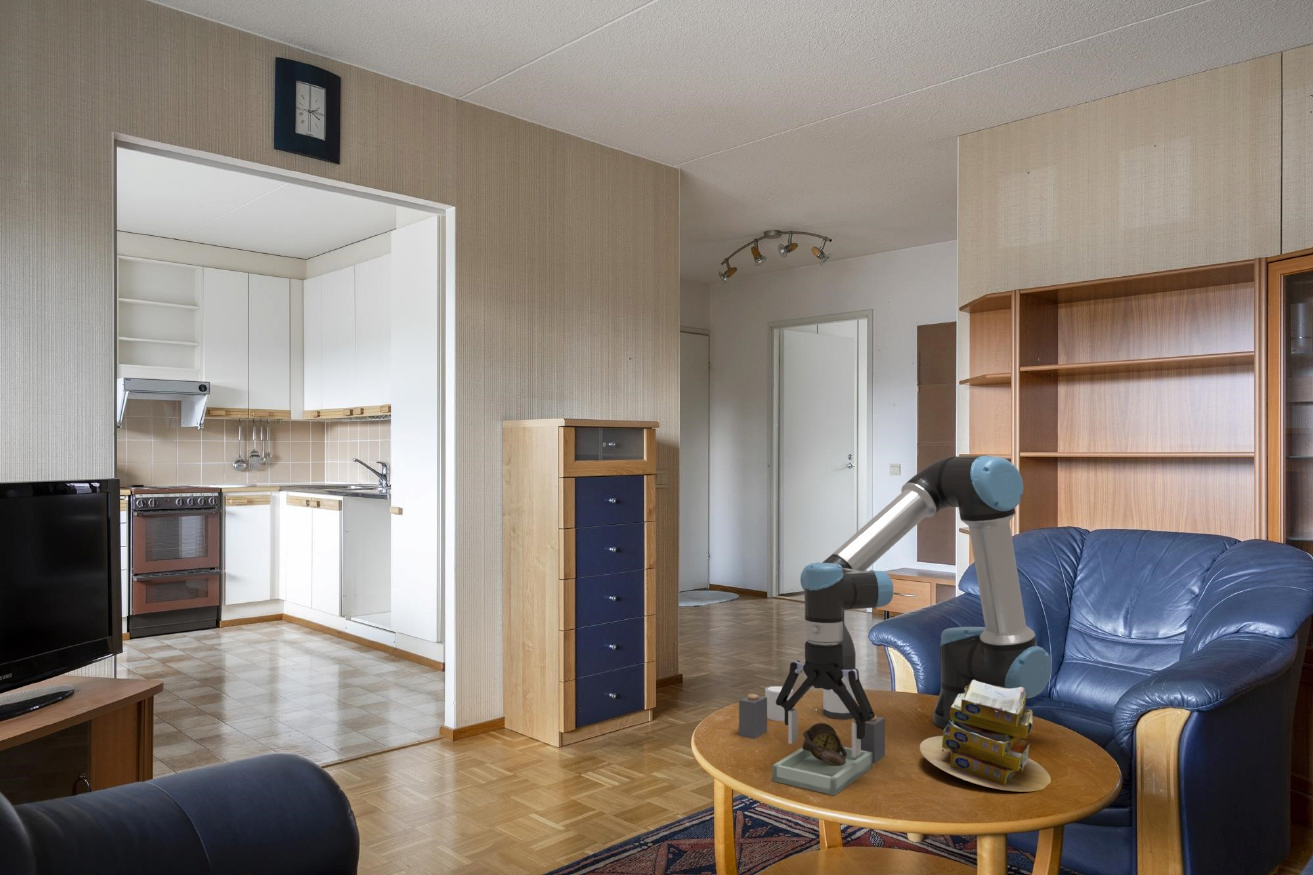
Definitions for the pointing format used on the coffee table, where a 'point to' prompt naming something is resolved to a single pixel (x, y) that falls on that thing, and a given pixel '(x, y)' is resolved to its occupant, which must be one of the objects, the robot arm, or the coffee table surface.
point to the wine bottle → (831, 700)
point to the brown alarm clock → (824, 744)
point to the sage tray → (820, 771)
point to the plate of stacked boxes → (988, 740)
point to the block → (874, 738)
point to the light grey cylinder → (772, 708)
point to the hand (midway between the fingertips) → (823, 748)
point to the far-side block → (752, 716)
